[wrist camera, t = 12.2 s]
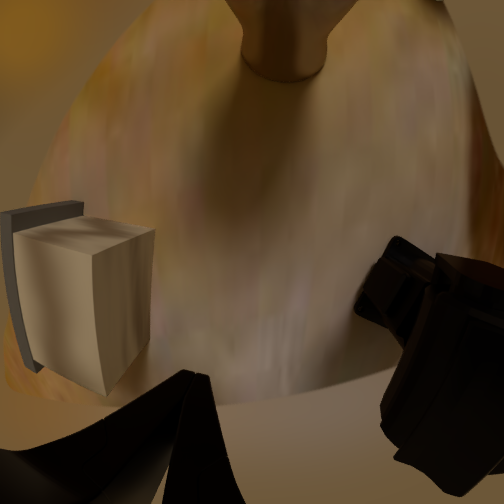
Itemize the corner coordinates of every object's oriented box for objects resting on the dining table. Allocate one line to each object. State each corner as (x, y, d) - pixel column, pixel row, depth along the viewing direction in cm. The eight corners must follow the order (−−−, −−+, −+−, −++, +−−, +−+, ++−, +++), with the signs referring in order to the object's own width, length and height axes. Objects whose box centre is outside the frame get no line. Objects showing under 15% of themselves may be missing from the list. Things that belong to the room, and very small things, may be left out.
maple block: (155, 228, 19) (92, 255, 11) (150, 338, 21) (106, 397, 14) (83, 215, 19) (13, 233, 12) (86, 316, 22) (33, 359, 14)
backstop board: (83, 202, 19) (11, 214, 11) (86, 329, 22) (36, 373, 14) (71, 200, 19) (0, 212, 11) (75, 324, 22) (24, 366, 14)
